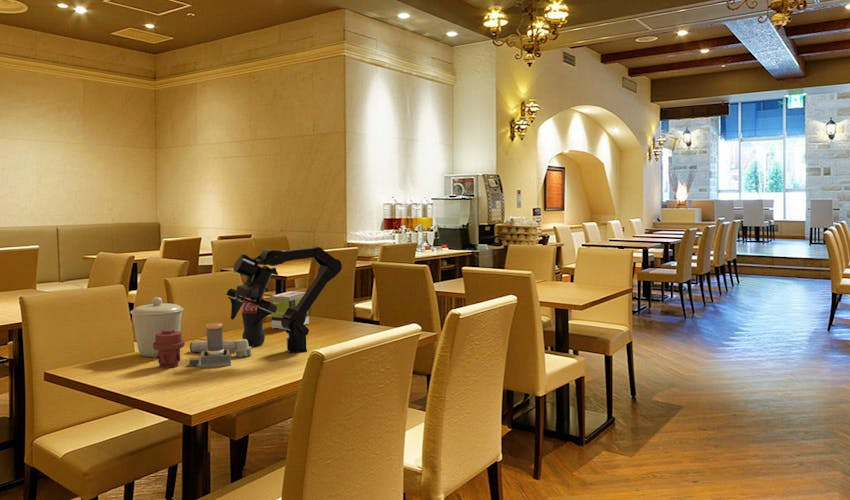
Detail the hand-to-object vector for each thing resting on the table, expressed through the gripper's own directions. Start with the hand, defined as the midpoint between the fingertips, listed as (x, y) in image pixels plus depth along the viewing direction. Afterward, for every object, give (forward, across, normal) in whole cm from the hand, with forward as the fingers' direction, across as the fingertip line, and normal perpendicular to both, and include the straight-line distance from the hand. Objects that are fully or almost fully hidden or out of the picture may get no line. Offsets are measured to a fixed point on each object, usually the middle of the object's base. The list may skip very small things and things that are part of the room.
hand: (242, 323), depth 234 cm
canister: (+21, -30, +3) cm, 37 cm away
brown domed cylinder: (+15, -2, -3) cm, 15 cm away
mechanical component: (+22, -13, -10) cm, 28 cm away
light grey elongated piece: (+13, -10, +9) cm, 19 cm away
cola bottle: (+6, -8, +25) cm, 27 cm away
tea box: (-6, -18, +60) cm, 63 cm away
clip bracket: (+17, -3, -3) cm, 17 cm away
